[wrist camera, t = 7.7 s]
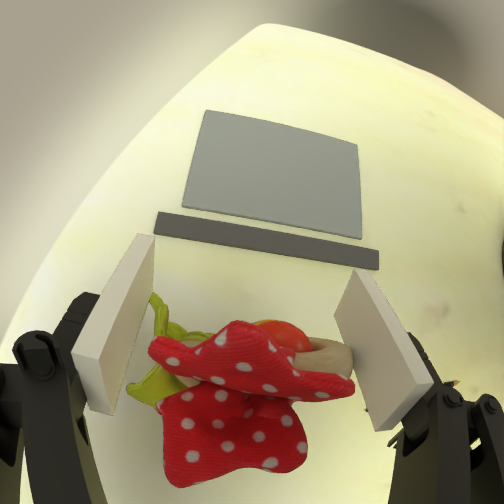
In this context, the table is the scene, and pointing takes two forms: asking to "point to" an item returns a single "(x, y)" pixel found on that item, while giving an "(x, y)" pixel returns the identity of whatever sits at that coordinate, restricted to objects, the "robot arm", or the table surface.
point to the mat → (273, 190)
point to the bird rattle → (237, 394)
